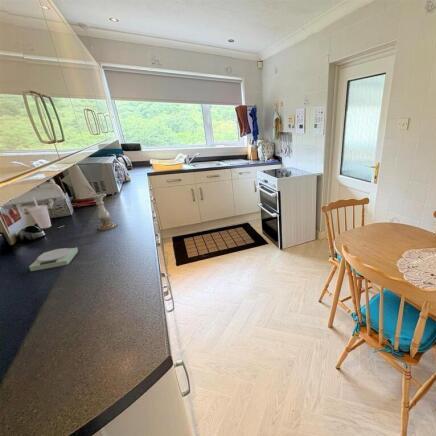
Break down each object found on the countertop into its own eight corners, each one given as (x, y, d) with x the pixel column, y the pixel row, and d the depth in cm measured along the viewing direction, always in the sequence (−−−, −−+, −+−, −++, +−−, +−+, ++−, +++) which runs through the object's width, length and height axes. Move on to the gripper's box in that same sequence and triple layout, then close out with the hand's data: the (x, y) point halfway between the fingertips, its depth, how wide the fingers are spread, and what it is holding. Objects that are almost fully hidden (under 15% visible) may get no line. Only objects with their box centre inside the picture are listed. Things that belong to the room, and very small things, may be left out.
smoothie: (56, 222, 110) (44, 194, 104) (54, 227, 105) (42, 197, 100) (36, 226, 106) (23, 197, 100) (34, 231, 101) (20, 200, 96)
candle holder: (110, 223, 143) (100, 192, 136) (120, 225, 140) (110, 193, 133) (95, 229, 136) (83, 195, 128) (104, 231, 133) (93, 197, 125)
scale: (30, 271, 96) (27, 265, 95) (45, 256, 107) (43, 251, 106) (67, 264, 101) (65, 259, 100) (78, 251, 112) (76, 245, 111)
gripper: (-11, 186, 95) (0, 213, 93) (57, 178, 109) (68, 202, 107) (-6, 194, 99) (5, 221, 97) (59, 186, 114) (70, 209, 111)
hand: (39, 211), depth 102 cm, fingers closed on smoothie, 6 cm apart
